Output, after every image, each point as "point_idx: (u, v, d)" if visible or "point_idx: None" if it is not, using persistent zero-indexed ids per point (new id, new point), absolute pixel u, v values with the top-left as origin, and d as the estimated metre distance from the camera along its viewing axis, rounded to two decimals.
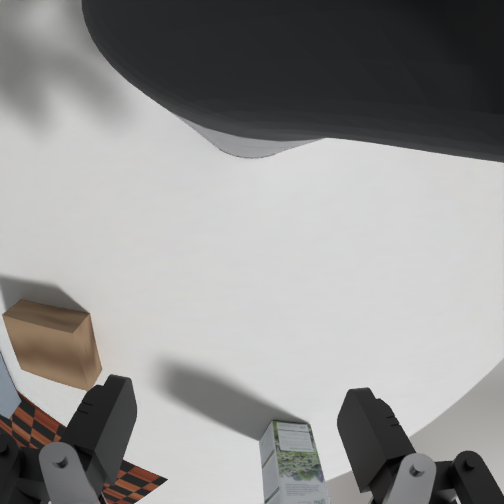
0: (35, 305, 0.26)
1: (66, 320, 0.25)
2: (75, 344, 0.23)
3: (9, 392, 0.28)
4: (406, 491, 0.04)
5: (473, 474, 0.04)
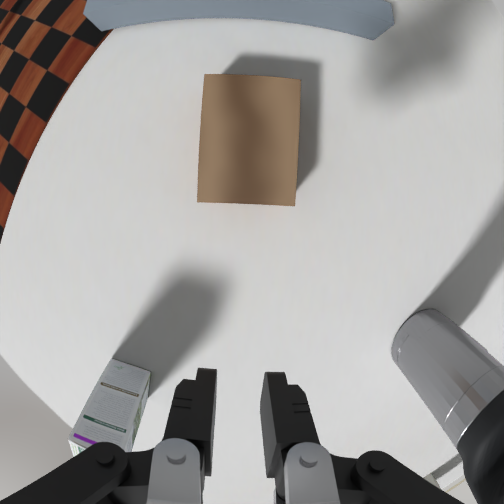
0: None
1: None
2: None
3: (125, 19, 0.19)
4: (306, 486, 0.05)
5: (386, 476, 0.05)
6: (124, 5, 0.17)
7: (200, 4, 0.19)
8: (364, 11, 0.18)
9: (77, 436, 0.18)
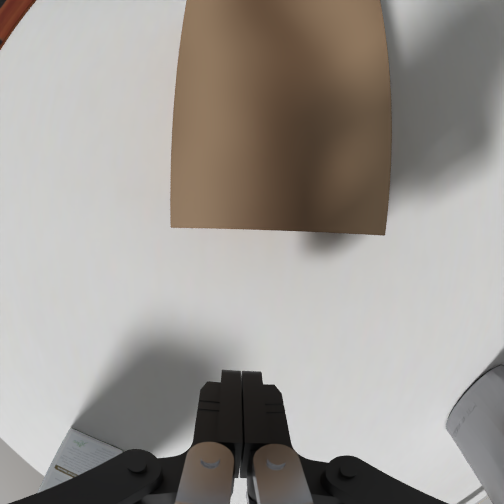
0: None
1: None
2: (351, 233, 0.10)
3: None
4: (276, 489, 0.05)
5: (359, 482, 0.05)
6: None
7: None
8: None
9: None
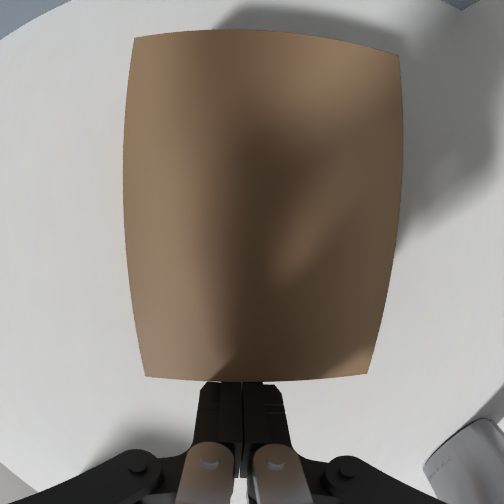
0: None
1: None
2: (331, 376, 0.09)
3: (19, 11, 0.07)
4: (276, 489, 0.05)
5: (359, 482, 0.05)
6: None
7: None
8: None
9: None
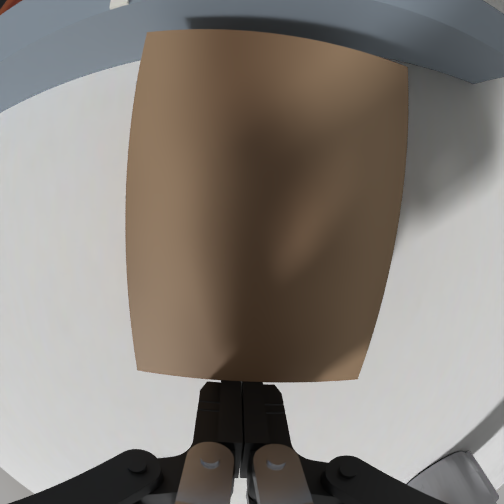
0: None
1: None
2: (322, 380, 0.09)
3: None
4: (276, 489, 0.05)
5: (359, 482, 0.05)
6: None
7: (101, 41, 0.07)
8: (490, 40, 0.06)
9: None
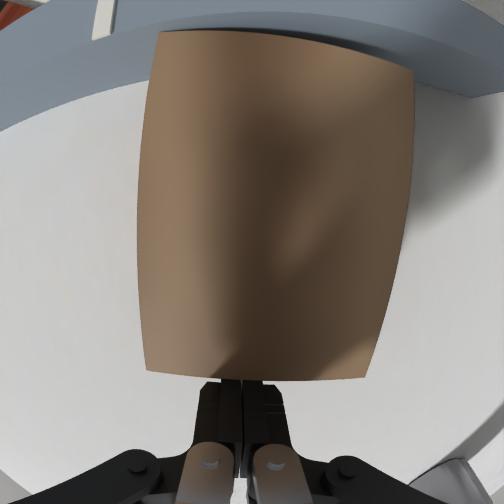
0: None
1: None
2: (330, 379, 0.09)
3: None
4: (276, 489, 0.05)
5: (359, 482, 0.05)
6: None
7: (88, 69, 0.07)
8: (490, 56, 0.06)
9: None
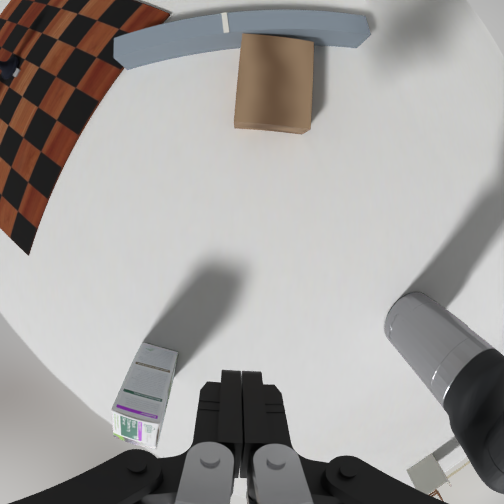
0: None
1: None
2: (297, 127, 0.28)
3: (150, 58, 0.27)
4: (276, 489, 0.05)
5: (359, 482, 0.05)
6: (149, 48, 0.24)
7: (214, 41, 0.26)
8: (345, 29, 0.24)
9: (119, 406, 0.25)
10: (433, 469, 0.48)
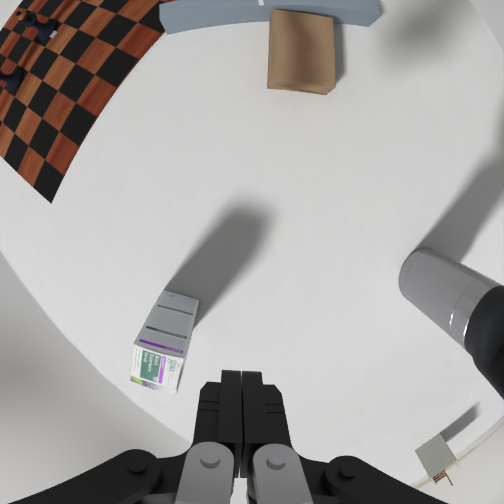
0: None
1: None
2: (324, 85, 0.30)
3: (190, 25, 0.29)
4: (276, 489, 0.05)
5: (359, 482, 0.05)
6: (193, 14, 0.26)
7: (249, 13, 0.28)
8: (360, 8, 0.26)
9: (142, 341, 0.27)
10: (442, 448, 0.50)
